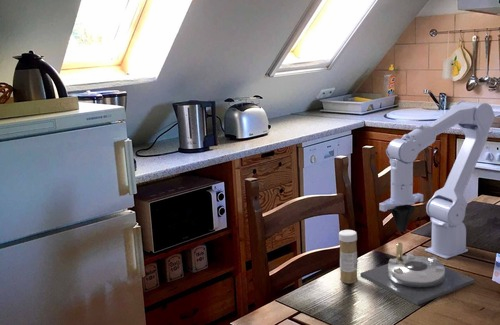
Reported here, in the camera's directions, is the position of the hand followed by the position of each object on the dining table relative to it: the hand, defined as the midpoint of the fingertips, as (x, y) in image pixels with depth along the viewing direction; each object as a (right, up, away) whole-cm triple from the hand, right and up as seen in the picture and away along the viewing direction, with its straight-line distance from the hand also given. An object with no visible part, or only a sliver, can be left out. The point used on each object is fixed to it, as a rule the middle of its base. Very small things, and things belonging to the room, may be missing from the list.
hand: (401, 230), depth 150 cm
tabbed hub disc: (+1, -10, -9) cm, 14 cm away
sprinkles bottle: (-16, -12, -7) cm, 21 cm away
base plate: (+1, -12, -9) cm, 15 cm away
